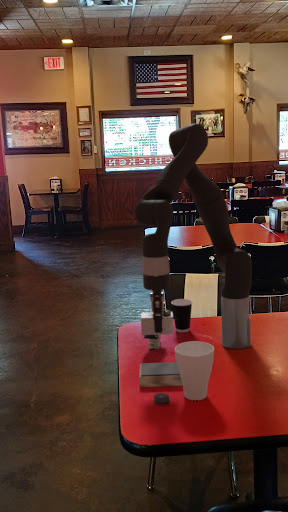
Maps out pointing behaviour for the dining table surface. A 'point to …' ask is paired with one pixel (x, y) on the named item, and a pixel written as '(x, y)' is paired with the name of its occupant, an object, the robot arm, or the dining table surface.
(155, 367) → the stand
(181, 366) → the cup
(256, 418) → the dining table surface
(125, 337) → the dining table surface
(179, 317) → the dixie cup
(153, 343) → the pneumatic valve
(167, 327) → the block
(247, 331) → the robot arm
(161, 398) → the black cap
